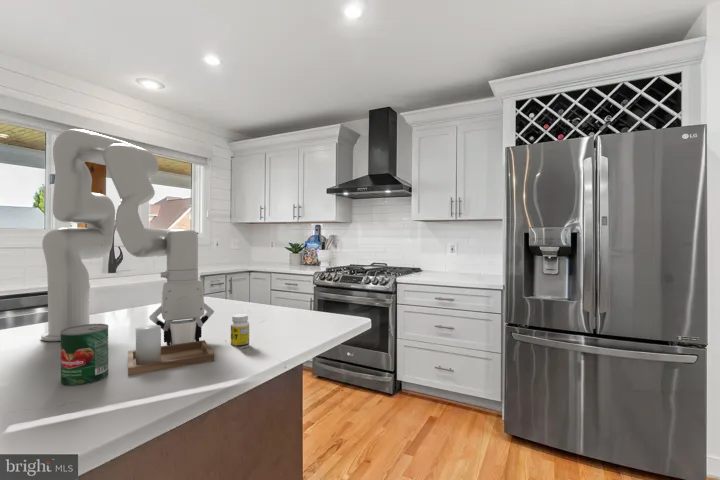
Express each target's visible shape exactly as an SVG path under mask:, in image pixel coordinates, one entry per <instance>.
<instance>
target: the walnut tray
mask: <svg viewBox="0 0 720 480" xmlns="http://www.w3.org/2000/svg"><path fill="white" fill-rule="evenodd" d="M210 362H215V353H214V351H213V350H212V349H211V347H210V345H208V342H207V341H206V340H199V341H196V340H195V342H189V343H182V344H174V345H167V344H166V345H161V362H154V363H148V364H142V365H136V349H133V350H128V351H127V373H128V374H127V375H128V377H129V376H133V375H138V374H144V373H145V374H146V373H152V372H157V371H163V370H169V369H176V368H181V367H187V366H192V365H193V366H194V365H197V364H198V365H199V364H204V363H210Z"/></svg>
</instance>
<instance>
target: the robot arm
mask: <svg viewBox="0 0 720 480" xmlns="http://www.w3.org/2000/svg"><path fill="white" fill-rule="evenodd" d="M52 146H53V147H52V157H53V164H54V173H55V174H54V185H53V197H52V215H53V217H54V218H55V219H56V220H57V221H59V222H62V223H67V224H86V227H59V228H54V229H52V230H49V231H47V233H46V234H45V235H44V236H43V237H42V243H41V245H42V251H43V255H44V258H45V263H46V272H47V273H46V275H47V325H48V326H47V327H48V329H47V330H48V331H47V332H44V333H42V334H41V335H40V339H41V340H42V341H44V342H61V341H60V340H61V333H60V331H61V330H63V329H66V328H69V327H73V326H79V325H86V324H90V276H89V271H88V269H87V266H86V265H85V264H84V262H83V261H82V260H90V259H91V260H92V259H101V258H104V257H105V256H107V255H108V254H109V253H110V251H111V250H112V247H113V242H114V231H115V228H116V230H117V231H116V232H117V233H118V236H119V238H120V241H121V243H122V245H123V247H124V248H125V250H126V251H127V252H128V253H129V254H130V255H131V256H133V257H136V258H152V257H166V270H165V271H163V272H160V278H163V279H164V278H165V279H166V281H164V282H163V286H162V291H161V303H160V304H161V305H160V306H159V307H158V308H157V309H156V310H154V311H153V312H152V313H151V315H149V320H150V321H151V322H153V323H154V325H160V326H161V330H163V343H166V346H167V345H171V331H170V330H169V326H170V323H171V322H172V321H174V320H184V319H193V318H194V319H195V320H196V332H195V342H196V341H200V338H202V327H203V326H204V324H205V323H206V322H207V321H208V320H209V318H210V317H211V316H212V315H213V314H214V313H215V310H214V309H213V308H211V307H210V306H209V305H208V304H206V303H205V300H204V299H205V297H204V289H203V288H204V286H203V282H202V280H201V279H199V235H198V232H197V231H195V230H193V229H171V228H147V227H146V228H145V226H144V224H143V222H142V220H141V217H140V214H139V209H140V206H142V205H144V204H146V203H147V202H149V201H150V200H152V199H153V198H154V196H155V193H156V192H155V189H154V187H153V185H152V182H151V180H150V179H151V178H153V177H154V176H156V175H157V174H158V172H159V162H158V159H157V157H156V156H155V155H154V153H152V152H151V151H150V150H147V149H144V148H142V147H139V146H136V145H134V144H131V143H128V142H127V141H124V140H120V139H117V138H113V137H110V136H107V135H103V134H99V133H97V132H94V131H89V130H86V129H79V128H78V129H77V128H71V129H65V130H63V131H62V132H61V133H59V134H58V135H57V137H56V138H55V140H54V142H53V145H52ZM86 162H87V163H92V164H97V165H102V166H105V167H106V170H107V171H108V173H109V176H110V178H111V180H112V183H113V184H114V187H115V190H116V192H117V194H118V196H119V197H118V198H119V199H120V202H119V204H118V206H117V209H116V208H115V204H114V202H113V201H112V199H111V198H110V197H109V196H107V195H105V194H102V193H97V192H92V184H93V177H92V174H91V171H90V169H89V167H88V166H87V164H86ZM205 311H206V313H205ZM160 315H161V317H162V319H163V320H164V322H163V321H162V320H160V318H158V317H159V316H160Z"/></svg>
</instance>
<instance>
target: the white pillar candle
mask: <svg viewBox="0 0 720 480" xmlns="http://www.w3.org/2000/svg"><path fill="white" fill-rule="evenodd" d="M161 346H162V329H161V326H160V325H156V324H148V325H142V326H138V327H136V328H135V350H136V365H142V364H148V363H154V362H161Z"/></svg>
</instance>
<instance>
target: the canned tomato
mask: <svg viewBox="0 0 720 480" xmlns="http://www.w3.org/2000/svg"><path fill="white" fill-rule="evenodd" d="M60 333H61V340H60V341H59V342H60V384H61V385H62V386H66V387H77V386H84V385H90V384H92V383H96V382H99V381H102V380H104V379H105V378H107V377H108V376H109V325H108V324H105V323H89V324H86V325H79V326H73V327H69V328H66V329H63V330H61V331H60Z"/></svg>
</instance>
